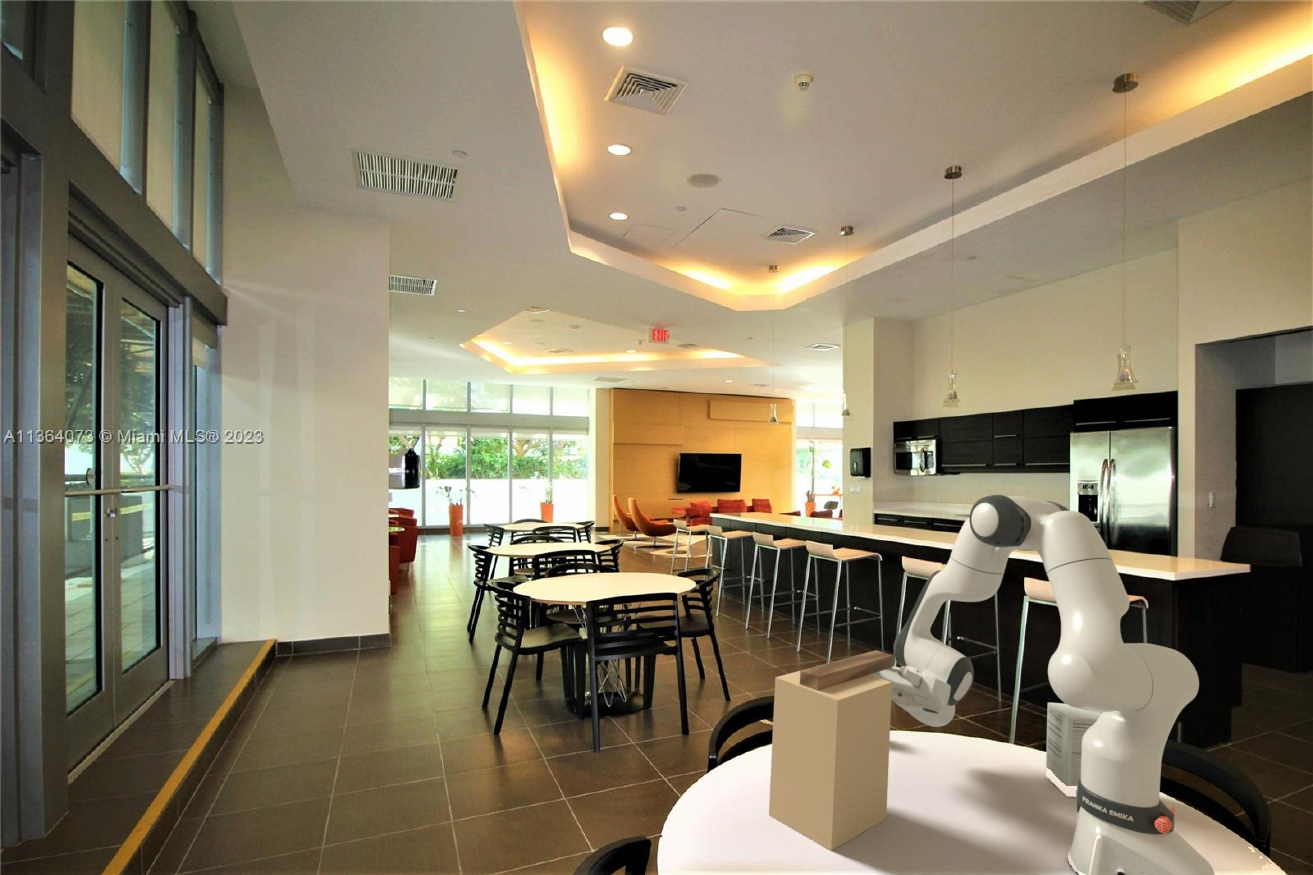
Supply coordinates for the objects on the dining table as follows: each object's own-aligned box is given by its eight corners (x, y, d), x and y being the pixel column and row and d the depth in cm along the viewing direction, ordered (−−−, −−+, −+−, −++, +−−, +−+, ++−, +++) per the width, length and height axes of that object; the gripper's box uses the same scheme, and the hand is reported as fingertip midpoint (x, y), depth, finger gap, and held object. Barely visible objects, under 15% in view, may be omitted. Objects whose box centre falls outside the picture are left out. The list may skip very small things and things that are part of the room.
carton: (886, 818, 126) (892, 682, 127) (831, 851, 114) (837, 700, 115) (825, 788, 137) (831, 662, 138) (768, 814, 125) (775, 677, 126)
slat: (892, 667, 137) (893, 655, 137) (817, 690, 120) (818, 676, 120) (875, 662, 140) (875, 650, 140) (799, 684, 123) (800, 670, 123)
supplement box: (1088, 780, 147) (1091, 704, 147) (1113, 802, 138) (1115, 720, 138) (1043, 776, 148) (1046, 701, 148) (1065, 797, 139) (1067, 716, 139)
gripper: (871, 662, 154) (843, 639, 146) (958, 688, 138) (932, 663, 131) (863, 688, 152) (834, 666, 144) (950, 717, 136) (923, 694, 129)
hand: (881, 665), depth 137 cm, fingers open, 8 cm apart
